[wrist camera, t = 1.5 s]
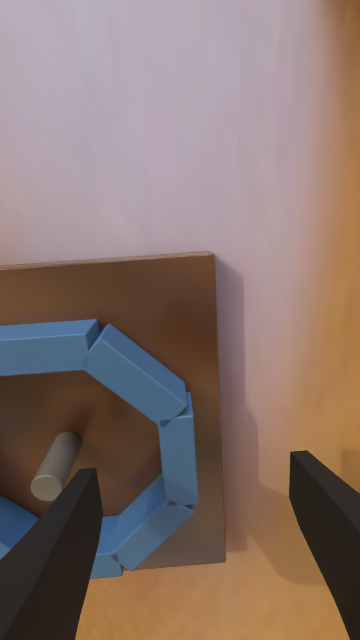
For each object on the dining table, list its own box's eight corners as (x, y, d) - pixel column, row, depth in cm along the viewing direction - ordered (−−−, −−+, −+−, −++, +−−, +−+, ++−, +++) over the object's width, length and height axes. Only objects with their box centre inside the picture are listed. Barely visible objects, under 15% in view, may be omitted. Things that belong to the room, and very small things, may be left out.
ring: (199, 530, 17) (203, 570, 15) (-28, 549, 16) (-54, 591, 14) (185, 312, 13) (188, 326, 12) (-95, 332, 13) (-139, 350, 11)
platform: (221, 537, 19) (236, 625, 14) (-26, 557, 18) (-83, 652, 14) (210, 251, 14) (226, 259, 10) (-114, 273, 14) (-230, 291, 10)
